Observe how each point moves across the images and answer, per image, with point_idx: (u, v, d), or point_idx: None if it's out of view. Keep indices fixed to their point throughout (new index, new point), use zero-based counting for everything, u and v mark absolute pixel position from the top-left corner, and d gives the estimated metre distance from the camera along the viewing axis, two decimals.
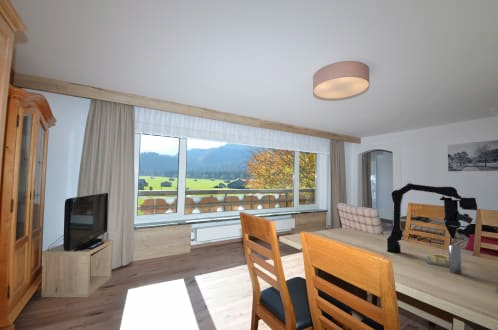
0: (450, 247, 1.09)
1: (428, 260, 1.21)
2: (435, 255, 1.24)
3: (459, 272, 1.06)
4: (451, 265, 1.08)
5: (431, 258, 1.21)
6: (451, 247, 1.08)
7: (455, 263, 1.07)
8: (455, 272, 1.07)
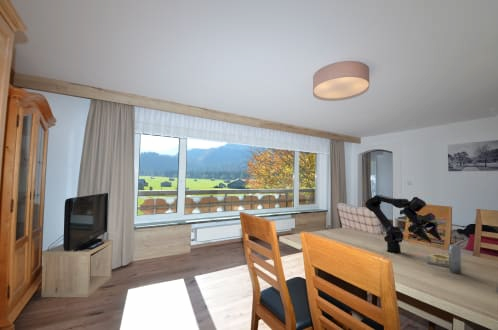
0: (450, 247, 1.09)
1: (428, 260, 1.21)
2: (435, 255, 1.24)
3: (459, 272, 1.06)
4: (451, 265, 1.08)
5: (431, 258, 1.21)
6: (451, 247, 1.08)
7: (455, 263, 1.07)
8: (455, 272, 1.07)
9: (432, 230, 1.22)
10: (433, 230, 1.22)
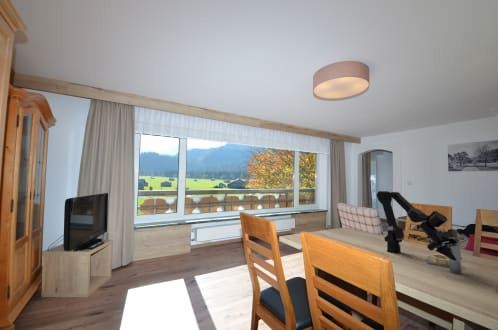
0: (450, 247, 1.09)
1: (428, 260, 1.21)
2: (435, 255, 1.24)
3: (459, 272, 1.06)
4: (451, 265, 1.08)
5: (431, 258, 1.21)
6: (451, 247, 1.08)
7: (455, 263, 1.07)
8: (455, 272, 1.06)
9: None
10: None
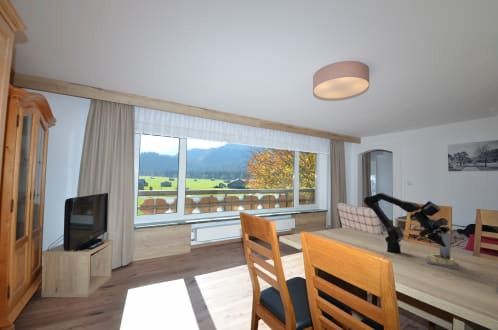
0: (440, 234, 1.16)
1: (428, 260, 1.21)
2: (435, 255, 1.24)
3: (448, 257, 1.14)
4: (441, 251, 1.16)
5: (431, 258, 1.21)
6: (441, 234, 1.16)
7: (445, 249, 1.14)
8: (444, 257, 1.14)
9: None
10: None
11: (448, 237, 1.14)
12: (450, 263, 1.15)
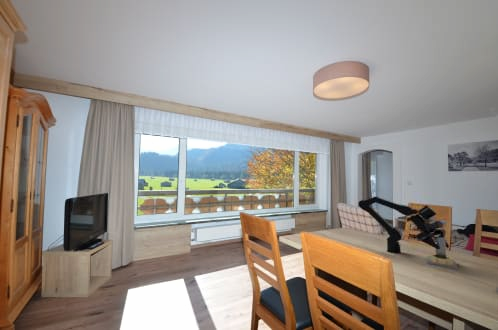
0: (436, 238, 1.21)
1: (428, 260, 1.21)
2: (435, 255, 1.24)
3: None
4: (437, 254, 1.20)
5: (431, 258, 1.21)
6: (437, 239, 1.20)
7: (440, 252, 1.19)
8: None
9: None
10: None
11: (443, 241, 1.19)
12: (450, 263, 1.15)
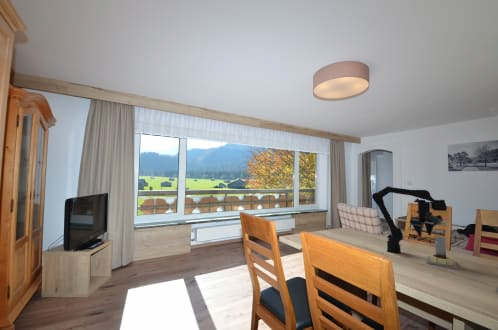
0: (436, 238, 1.21)
1: (428, 260, 1.21)
2: (435, 255, 1.24)
3: None
4: (437, 254, 1.20)
5: (431, 258, 1.21)
6: (437, 238, 1.21)
7: (441, 252, 1.19)
8: None
9: (429, 225, 1.35)
10: (430, 226, 1.35)
11: (444, 241, 1.19)
12: (450, 263, 1.15)
